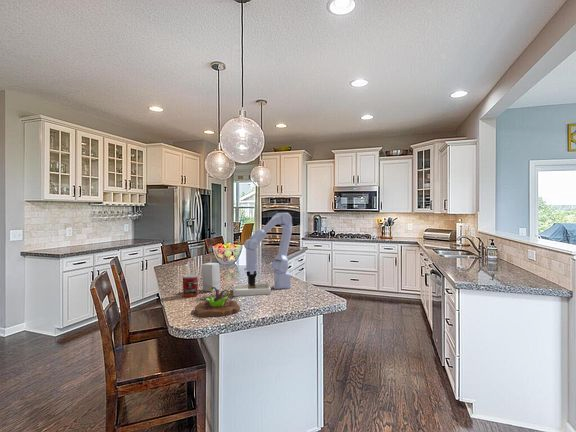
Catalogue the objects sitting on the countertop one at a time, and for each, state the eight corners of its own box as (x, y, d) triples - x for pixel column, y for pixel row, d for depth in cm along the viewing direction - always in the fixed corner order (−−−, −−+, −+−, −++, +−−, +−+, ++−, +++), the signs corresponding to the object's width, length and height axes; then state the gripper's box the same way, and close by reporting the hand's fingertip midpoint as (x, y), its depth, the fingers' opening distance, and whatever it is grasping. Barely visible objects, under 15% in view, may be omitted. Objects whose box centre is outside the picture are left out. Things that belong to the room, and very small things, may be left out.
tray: (268, 287, 183) (268, 283, 183) (270, 293, 170) (270, 288, 170) (234, 289, 180) (233, 285, 180) (233, 296, 167) (233, 290, 167)
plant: (194, 307, 149) (193, 283, 149) (235, 302, 155) (234, 280, 155) (195, 320, 130) (194, 293, 130) (241, 315, 136) (241, 289, 136)
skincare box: (220, 289, 181) (220, 263, 181) (212, 292, 175) (211, 264, 175) (210, 288, 185) (209, 262, 185) (201, 290, 180) (201, 263, 180)
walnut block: (255, 286, 177) (254, 276, 177) (255, 288, 173) (255, 277, 173) (248, 287, 177) (247, 276, 177) (248, 288, 173) (247, 278, 173)
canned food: (182, 298, 164) (182, 277, 164) (183, 294, 172) (183, 274, 172) (197, 297, 166) (197, 276, 166) (198, 293, 174) (197, 273, 174)
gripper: (243, 259, 181) (244, 282, 182) (244, 262, 167) (244, 288, 167) (256, 258, 182) (256, 281, 183) (257, 262, 168) (257, 287, 168)
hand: (251, 284), depth 175 cm, fingers closed on walnut block, 4 cm apart
